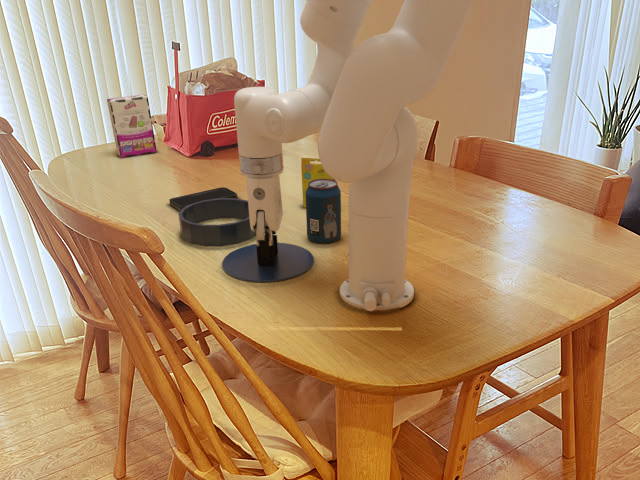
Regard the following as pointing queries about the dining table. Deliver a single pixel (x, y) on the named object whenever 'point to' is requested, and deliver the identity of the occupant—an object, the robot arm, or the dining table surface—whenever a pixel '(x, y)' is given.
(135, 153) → the candy bar box
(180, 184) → the dining table surface
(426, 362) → the dining table surface
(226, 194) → the phone
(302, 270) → the lid
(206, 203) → the pot
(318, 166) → the crayon box
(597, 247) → the dining table surface
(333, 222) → the soda can
